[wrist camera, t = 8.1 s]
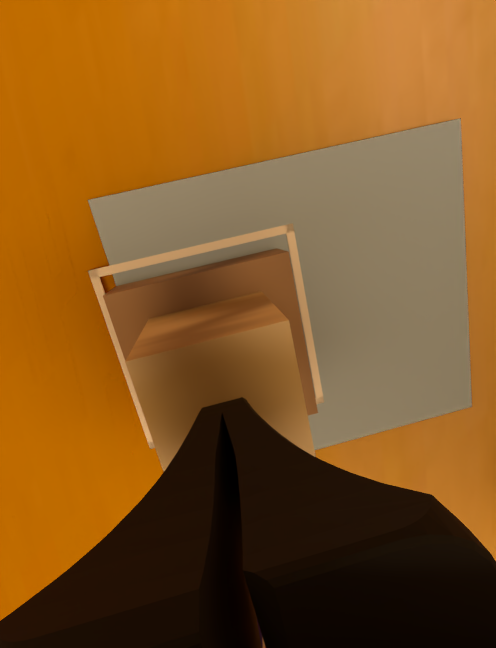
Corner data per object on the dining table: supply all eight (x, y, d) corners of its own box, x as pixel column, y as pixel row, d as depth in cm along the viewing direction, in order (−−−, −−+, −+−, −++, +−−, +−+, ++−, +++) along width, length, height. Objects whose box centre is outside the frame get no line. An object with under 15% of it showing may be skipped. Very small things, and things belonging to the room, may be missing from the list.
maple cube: (261, 291, 16) (289, 320, 11) (283, 391, 17) (315, 456, 12) (148, 319, 15) (125, 361, 10) (180, 419, 17) (172, 497, 12)
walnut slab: (276, 248, 18) (288, 251, 15) (303, 390, 20) (318, 412, 17) (116, 285, 17) (102, 295, 15) (163, 427, 19) (158, 456, 17)
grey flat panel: (453, 121, 18) (462, 117, 17) (466, 402, 22) (473, 407, 22) (69, 205, 16) (64, 204, 16) (166, 485, 21) (165, 492, 20)
